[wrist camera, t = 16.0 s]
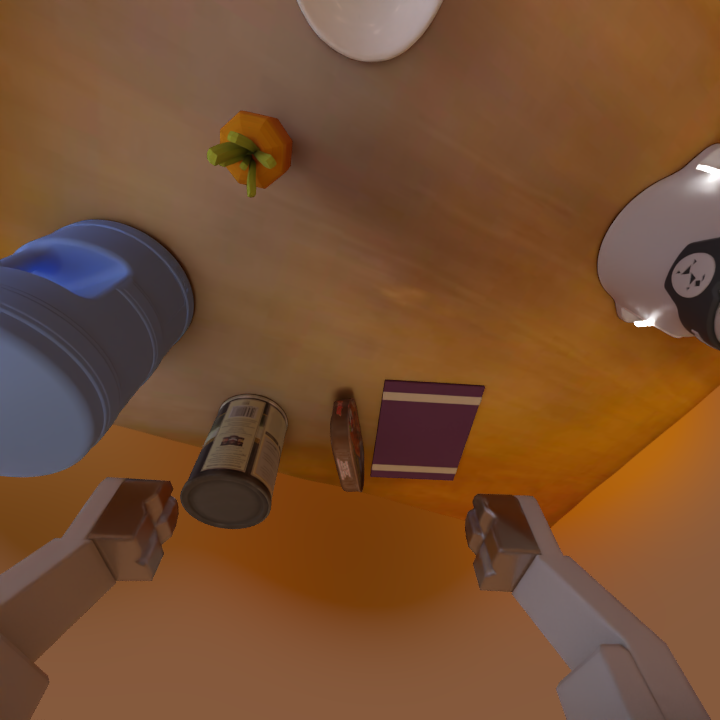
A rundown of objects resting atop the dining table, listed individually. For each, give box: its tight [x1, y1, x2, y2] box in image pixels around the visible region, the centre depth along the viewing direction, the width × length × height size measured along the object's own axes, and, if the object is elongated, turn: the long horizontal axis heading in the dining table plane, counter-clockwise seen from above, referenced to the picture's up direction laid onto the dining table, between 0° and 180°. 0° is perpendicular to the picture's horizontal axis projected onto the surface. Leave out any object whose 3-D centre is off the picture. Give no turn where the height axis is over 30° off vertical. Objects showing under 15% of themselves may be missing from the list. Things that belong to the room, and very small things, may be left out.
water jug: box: [0, 220, 194, 477], centre depth 31 cm, size 16×16×28 cm
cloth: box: [371, 380, 485, 480], centre depth 56 cm, size 14×20×1 cm
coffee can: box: [180, 394, 288, 529], centre depth 48 cm, size 10×10×14 cm
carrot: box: [207, 111, 293, 197], centre depth 28 cm, size 5×5×15 cm
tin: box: [330, 398, 364, 492], centre depth 51 cm, size 15×3×8 cm, turn 7°
